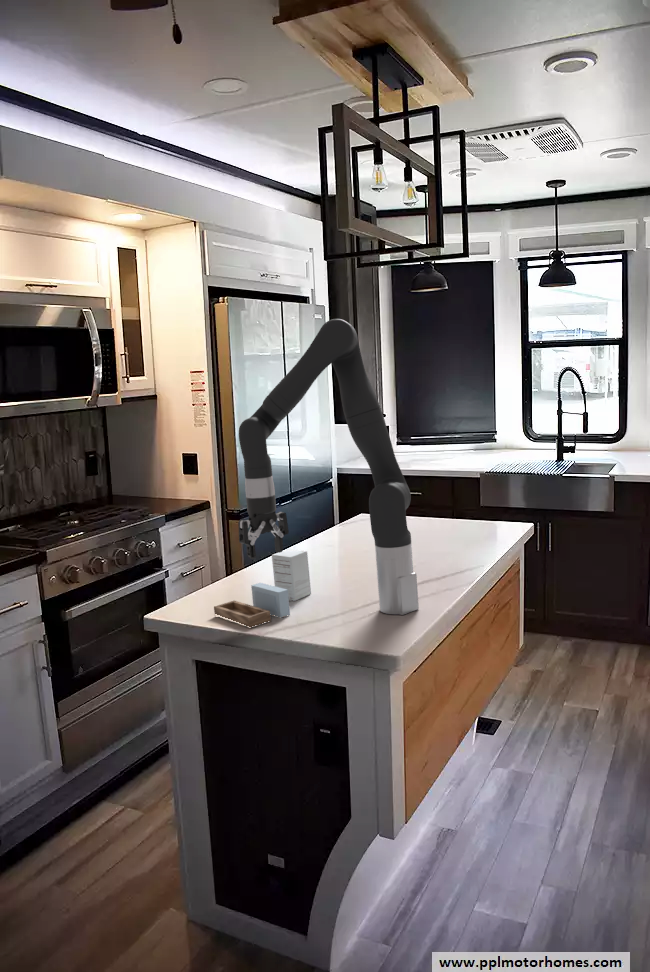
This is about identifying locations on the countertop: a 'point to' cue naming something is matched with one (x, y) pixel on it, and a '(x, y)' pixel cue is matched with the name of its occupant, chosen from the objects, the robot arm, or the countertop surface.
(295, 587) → the supplement box
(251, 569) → the countertop surface
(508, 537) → the countertop surface
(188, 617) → the countertop surface
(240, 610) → the wooden tray
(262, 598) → the light blue rectangular block
